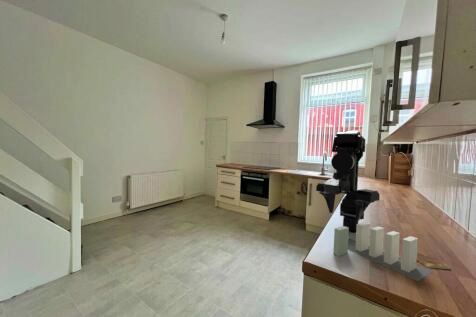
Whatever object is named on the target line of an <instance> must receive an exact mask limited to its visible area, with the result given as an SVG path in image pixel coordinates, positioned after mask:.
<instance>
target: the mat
mask: <svg viewBox="0 0 476 317" xmlns="http://www.w3.org/2000/svg"><path fill="white" fill-rule="evenodd" d="M355 248H356V239H352V238H348V251H351V252H353V253H355V254H357V255H360V256H361V257H363V258H366V259H368V260H370V261H373V262H374V263H376V264H378V265H381V266H384V267H386V268H388V269H390V270H393V271H395V272H397V273H399V274H400V275H401V274H402V275H404V276H406V277H408V278H411V279H412V280H415V281H417V282H419V281H422V279H424V278H426V277H427V276H428V275H430V274H432V273H433V272H434V271H433V270H431V269H428V268H427V267H424V266H420V265H418V264H416V268H415V269H414V270H412V271H410V272H406V271H404V270H402V269H401V259H402V257H401V258H400V257H399V258H398V261H397V262H395V263H393V264H391V265H390V264H388V263H386V262H384V251H383V255H380V256H378V257H375V258H374V257H372V256H369V249H367V250H364V251H361V252H360V251H358V250H356V249H355Z"/></svg>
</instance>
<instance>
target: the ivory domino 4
mask: <svg viewBox="0 0 476 317" xmlns="http://www.w3.org/2000/svg"><path fill="white" fill-rule="evenodd" d="M418 240H419V239H418V238H417V237H414V236H412V235H411V236H407V237H404V238H402V242H401V243H402V244H401V247H402V248H401V269H402V270H404V271H406V272H410V271H412V270H414V269H415V268H416V265H417V262H418V261H417V253H418V243H419V242H418Z"/></svg>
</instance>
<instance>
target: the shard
mask: <svg viewBox="0 0 476 317" xmlns="http://www.w3.org/2000/svg"><path fill="white" fill-rule="evenodd" d="M416 262H419V263H420V264H421V265H423V267H425V268H429V269H430V268H434V269H443V270H451V266H450V265H448V264H446V263H445V262H443V261H442V260H440V259H437V258H435V257H431V256H428V255H424V254H421V253H418V252H417V261H416Z"/></svg>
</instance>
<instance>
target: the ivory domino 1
mask: <svg viewBox="0 0 476 317" xmlns="http://www.w3.org/2000/svg"><path fill="white" fill-rule="evenodd" d="M370 228H371V224H370V223H369V222H361V223H359V222H358V224H357V228H356V233H355V241H356V248H355V249H356V250H358V251H360V252H361V251H364V250H367V249H369V242H370Z"/></svg>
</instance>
